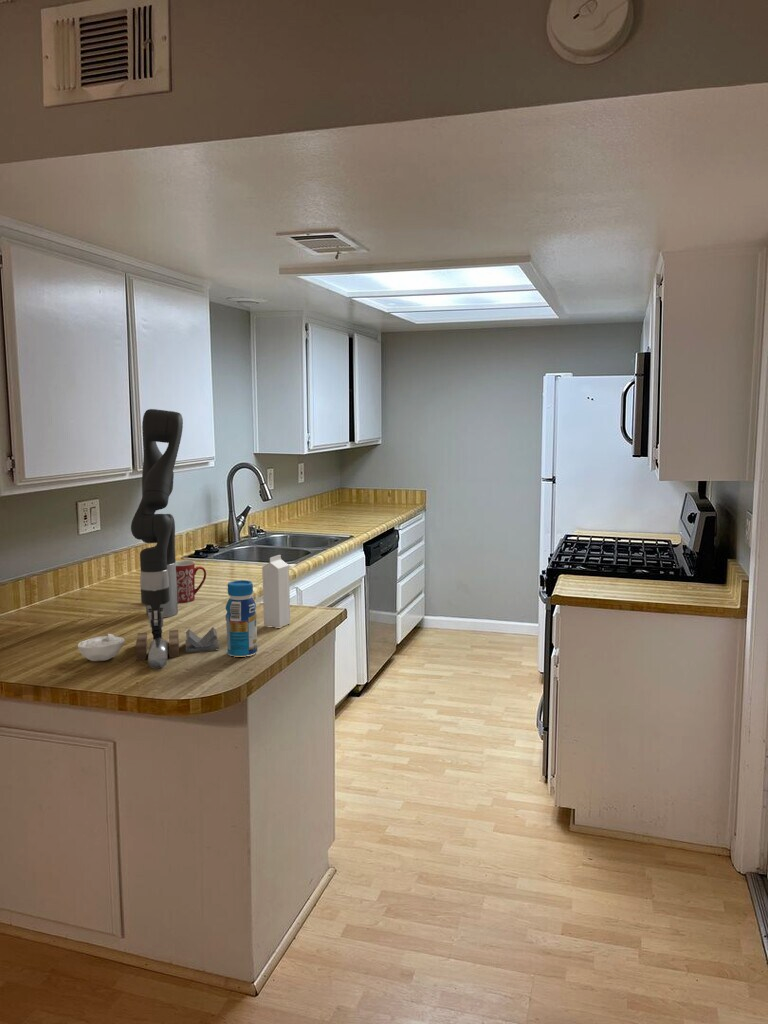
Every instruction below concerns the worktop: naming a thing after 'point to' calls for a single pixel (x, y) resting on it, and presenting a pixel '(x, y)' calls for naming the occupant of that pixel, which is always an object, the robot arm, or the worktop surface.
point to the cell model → (101, 647)
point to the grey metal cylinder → (158, 653)
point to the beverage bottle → (241, 619)
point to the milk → (276, 592)
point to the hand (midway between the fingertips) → (157, 646)
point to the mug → (187, 580)
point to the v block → (201, 641)
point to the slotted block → (142, 645)
